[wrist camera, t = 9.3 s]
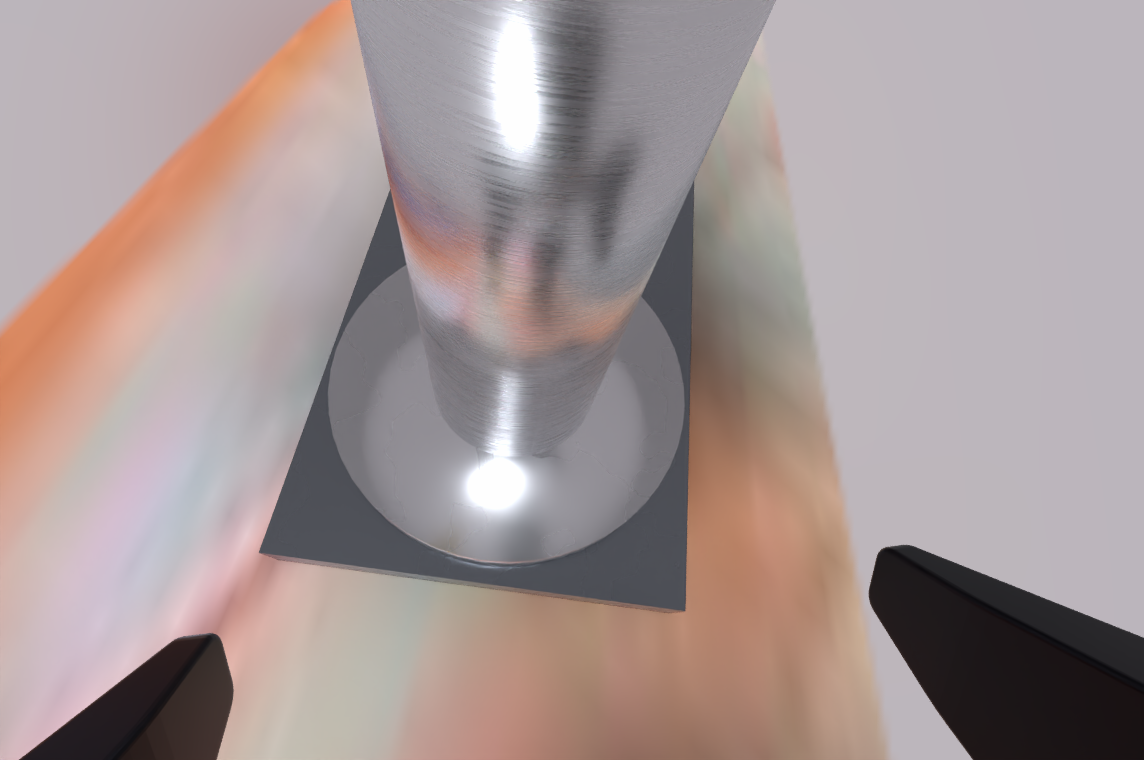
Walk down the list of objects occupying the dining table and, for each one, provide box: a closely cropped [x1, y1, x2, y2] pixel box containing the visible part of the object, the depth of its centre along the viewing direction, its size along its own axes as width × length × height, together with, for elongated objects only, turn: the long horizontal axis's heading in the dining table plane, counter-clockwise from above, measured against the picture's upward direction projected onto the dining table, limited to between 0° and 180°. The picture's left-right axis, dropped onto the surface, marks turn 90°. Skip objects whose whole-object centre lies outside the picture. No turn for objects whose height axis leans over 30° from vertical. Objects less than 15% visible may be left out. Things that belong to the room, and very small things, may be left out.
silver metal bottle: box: [351, 0, 776, 457], centre depth 10 cm, size 5×5×14 cm
